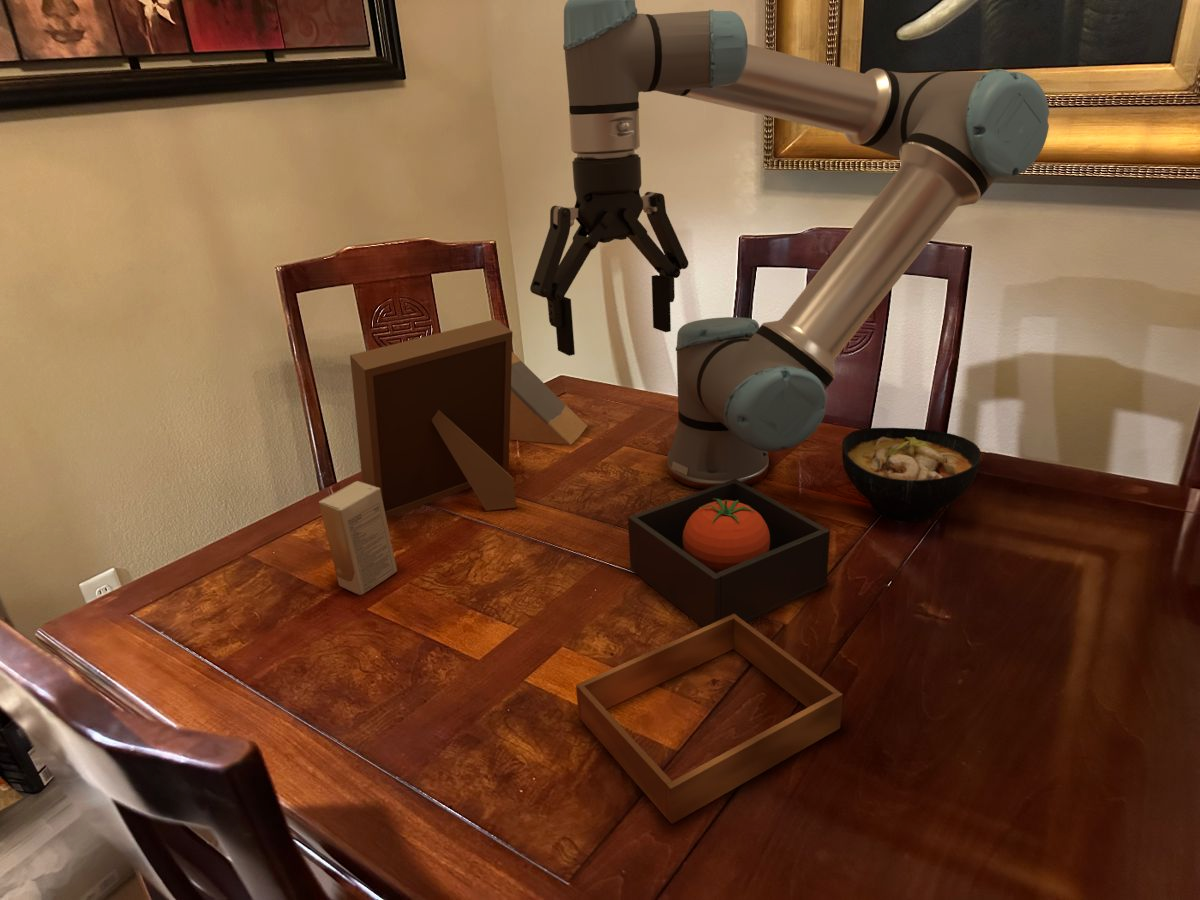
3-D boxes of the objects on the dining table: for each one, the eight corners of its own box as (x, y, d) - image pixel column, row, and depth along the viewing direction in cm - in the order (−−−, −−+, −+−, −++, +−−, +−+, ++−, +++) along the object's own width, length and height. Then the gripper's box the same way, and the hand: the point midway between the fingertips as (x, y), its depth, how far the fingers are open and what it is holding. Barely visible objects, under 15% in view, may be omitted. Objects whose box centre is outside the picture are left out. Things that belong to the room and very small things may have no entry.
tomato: (769, 600, 96) (772, 523, 91) (679, 595, 97) (677, 520, 93) (768, 553, 105) (771, 481, 101) (686, 549, 106) (685, 479, 102)
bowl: (851, 472, 125) (856, 409, 120) (977, 490, 117) (986, 424, 113) (825, 526, 111) (830, 457, 107) (966, 550, 104) (976, 477, 99)
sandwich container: (571, 445, 139) (565, 359, 133) (488, 438, 144) (477, 354, 138) (589, 425, 146) (583, 342, 140) (509, 419, 151) (500, 338, 145)
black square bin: (734, 529, 111) (735, 478, 108) (826, 586, 98) (830, 530, 95) (630, 569, 104) (627, 516, 101) (714, 637, 91) (714, 578, 88)
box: (733, 644, 90) (734, 613, 88) (840, 728, 78) (843, 694, 76) (578, 717, 81) (575, 684, 79) (671, 824, 69) (670, 788, 67)
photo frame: (365, 511, 122) (333, 345, 112) (494, 465, 134) (476, 311, 123) (411, 550, 111) (379, 371, 101) (546, 497, 123) (531, 331, 112)
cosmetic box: (375, 563, 109) (359, 478, 104) (398, 572, 106) (382, 486, 101) (335, 587, 104) (316, 500, 99) (358, 597, 102) (340, 508, 97)
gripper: (519, 168, 83) (538, 371, 92) (717, 144, 95) (717, 327, 104) (487, 164, 89) (508, 355, 98) (677, 141, 101) (680, 314, 109)
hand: (615, 341), depth 101 cm, fingers open, 13 cm apart
